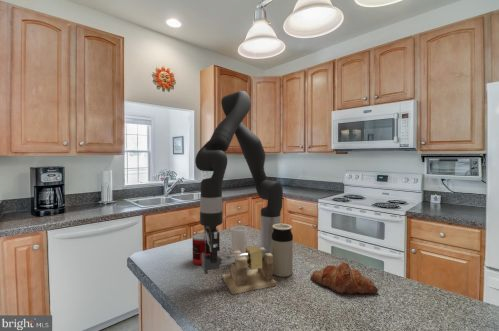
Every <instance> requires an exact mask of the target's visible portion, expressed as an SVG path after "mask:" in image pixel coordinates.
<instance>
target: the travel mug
mask: <svg viewBox="0 0 499 331" xmlns="http://www.w3.org/2000/svg"><path fill="white" fill-rule="evenodd" d="M272 227H273V233H272V255H273V276H277V277H281V278H286V277H290V276H292V274H293V271H294V269H293V266H294V265H293V261H294V257H293V255H294V254H293V253H294V252H293V248H294V243H293V242H294V238H293V237H294V236H293V233H292V229H293V226H292V225H291V224H288V223H280V224H274V225H273V226H272Z"/></svg>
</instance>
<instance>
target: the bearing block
mask: <svg viewBox="0 0 499 331" xmlns="http://www.w3.org/2000/svg"><path fill="white" fill-rule="evenodd" d="M258 248H259V249H260V250H265V248H263V247H261V246H260V247H258ZM238 253H241V252H240V251H232V250H231V251H230V252H229V255H231V254H238ZM229 265H230V266H229V269H230V273H228V272H227V273H223V274H222V275H221V278H222V280H223V282H224V284H225V285H226V287H227V289H228V290H229V292H230V295H234V294H235V295H236V294H240V293H245V292H251V291H256V290H261V289H265V288H271V287H275V286H277V281H276V280H275V279H274V278H273V276H274V274H273V255H272V254H271V253H266V254H265V259H262V268H259V269H254V270H251V269H248V265H247V258H246V257H240V258H235V263H233V264H229Z"/></svg>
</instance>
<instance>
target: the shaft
mask: <svg viewBox="0 0 499 331" xmlns="http://www.w3.org/2000/svg"><path fill="white" fill-rule="evenodd" d="M261 251H262V259H265V254H266V253H268V252H267V250H261ZM240 257H246V258H247V261H250V254H249V253H248V252H245V253H238V254H231V255H230V254H226V255H218V254H217V263H211V262H210V255H207V256H206V254H205V253H202V265H201V268H202V271H203V273H204V275H208V274H209V271H212V270H218V269H220V266H226V265H227V266H228V265H230V264H233V263H235V258H240Z"/></svg>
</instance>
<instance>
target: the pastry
mask: <svg viewBox="0 0 499 331" xmlns="http://www.w3.org/2000/svg"><path fill="white" fill-rule="evenodd" d="M310 280H311V281H312V282H314V283H316V284H319V285H320V286H322V287H324V288H329V289H330V290H333V292H335V293H338V294H340V295H355V294H359V295H376V294H377V293H378V291H379V289H378V288H377V286H376V285H375V283H374V281H372V280H371V279H370V278H367V277H365V276H363V274H362V273H361V272H360V271H359V270H358V269H352V268H351V267H350V265H349V263H347V262H344V261H343V262H341V263H340V264H339V265H331V264H330V265H326V266H325V267H324V268H322V269H320V270H314V271H313V273H312V274H311V275H310Z"/></svg>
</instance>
